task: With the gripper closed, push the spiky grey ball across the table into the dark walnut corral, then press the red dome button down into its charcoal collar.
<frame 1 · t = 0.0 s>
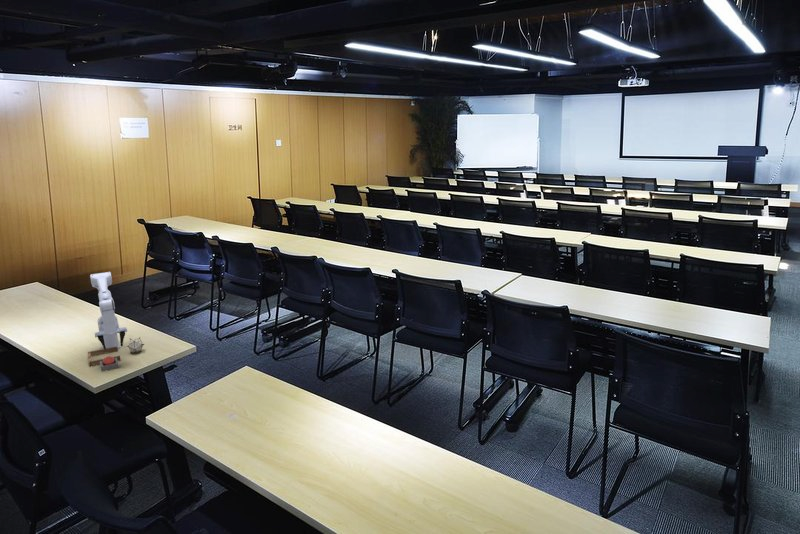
hand: (113, 347, 279), 10 cm above the table, tool pointing down, fingers open, 7 cm apart
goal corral: (105, 358, 290), on the table
spiky grey ball: (136, 352, 298), on the table
button collar: (109, 366, 280), on the table
dome button: (108, 360, 279), point 4 cm above the table, slide at 0.0 cm
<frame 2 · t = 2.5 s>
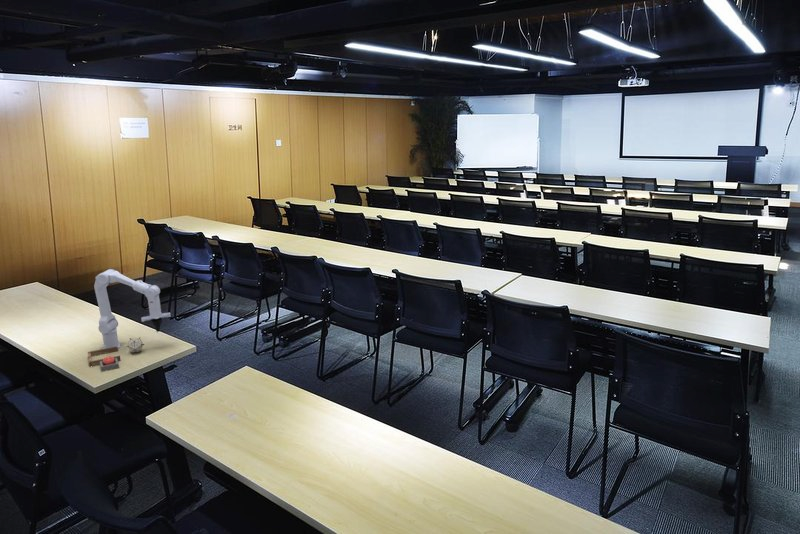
hand: (157, 331, 301), 10 cm above the table, tool pointing down, fingers closed
nothing on the table moved.
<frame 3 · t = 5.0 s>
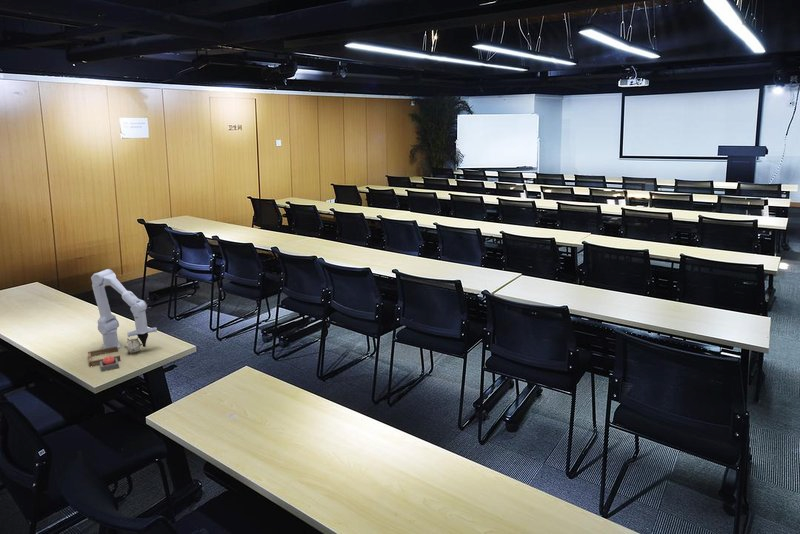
hand: (144, 346, 299), 2 cm above the table, tool pointing down, fingers closed
spiky grey ball: (134, 352, 297), on the table, touching gripper
everything else where it was.
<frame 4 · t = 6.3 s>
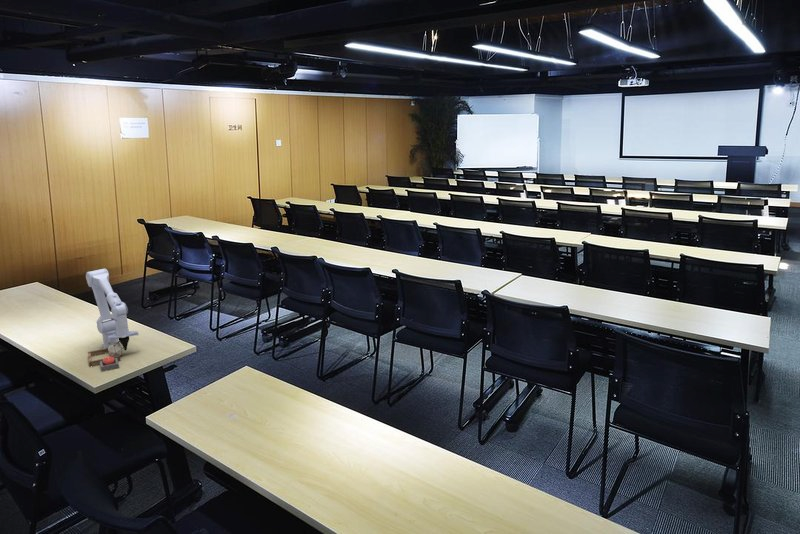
hand: (125, 349, 294), 2 cm above the table, tool pointing down, fingers closed
spiky grey ball: (116, 356, 292), on the table, touching gripper
everything else where it was.
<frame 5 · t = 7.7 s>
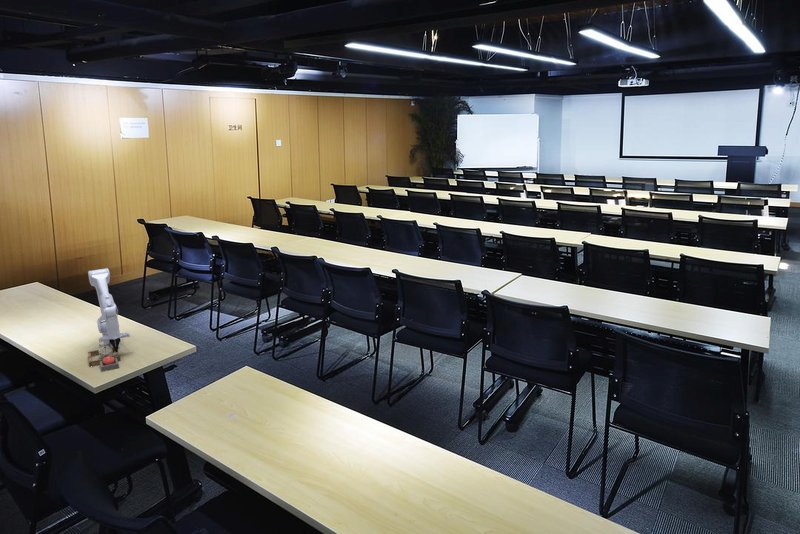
hand: (116, 351, 292), 2 cm above the table, tool pointing down, fingers closed
spiky grey ball: (106, 358, 290), on the table, touching gripper
everything else where it was.
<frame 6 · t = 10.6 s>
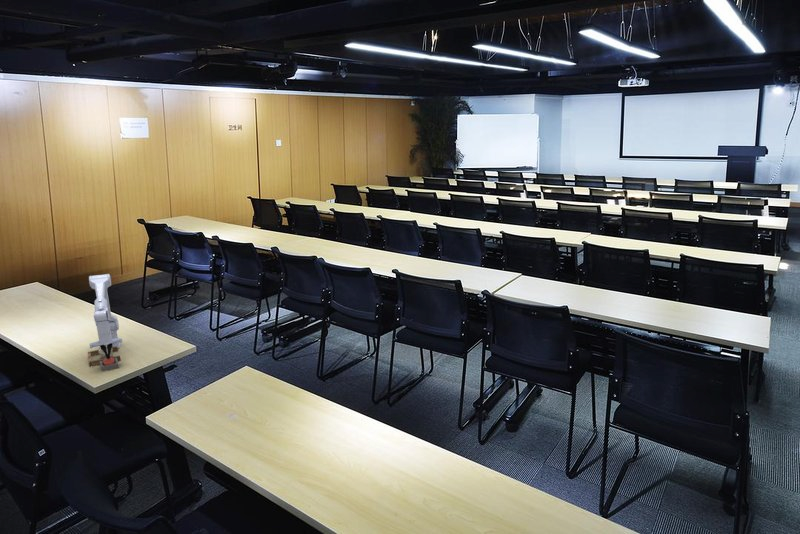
hand: (108, 357, 279), 5 cm above the table, tool pointing down, fingers closed, pressing on dome button
spiky grey ball: (106, 358, 290), on the table
dome button: (108, 361, 279), point 3 cm above the table, slide at 0.7 cm, touching gripper
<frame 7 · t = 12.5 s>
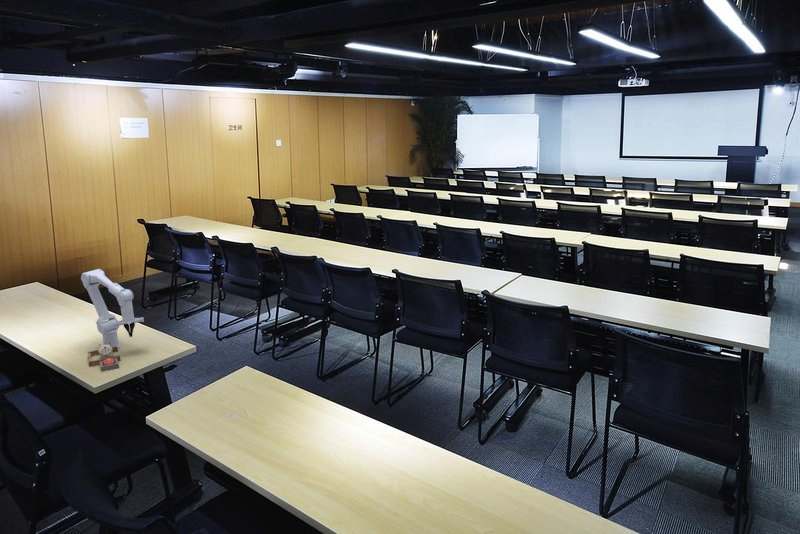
hand: (130, 336, 295), 9 cm above the table, tool pointing down, fingers closed
dome button: (109, 362, 279), point 3 cm above the table, slide at 1.1 cm
everything else where it was.
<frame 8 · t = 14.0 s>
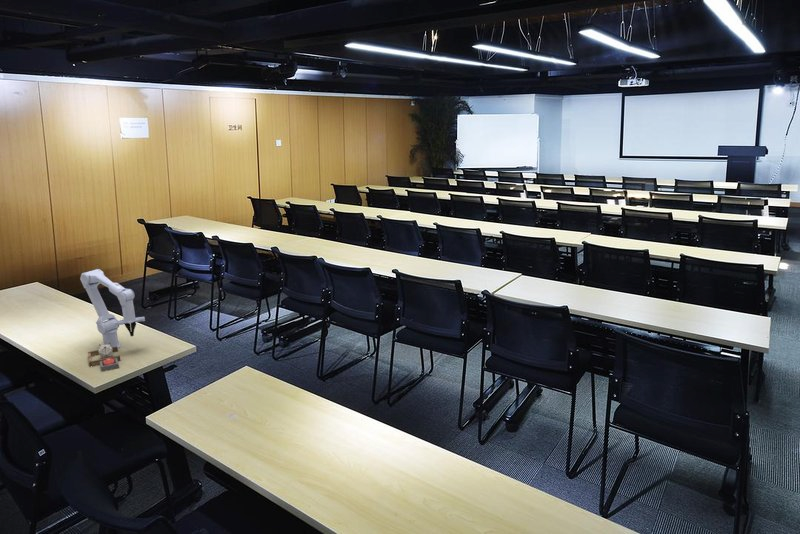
hand: (132, 335, 295), 9 cm above the table, tool pointing down, fingers closed
nothing on the table moved.
at the end: spiky grey ball inside the target area (0.6 cm from its centre), on the table; spiky grey ball tilted 0°; dome button slide at 1.1 cm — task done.
